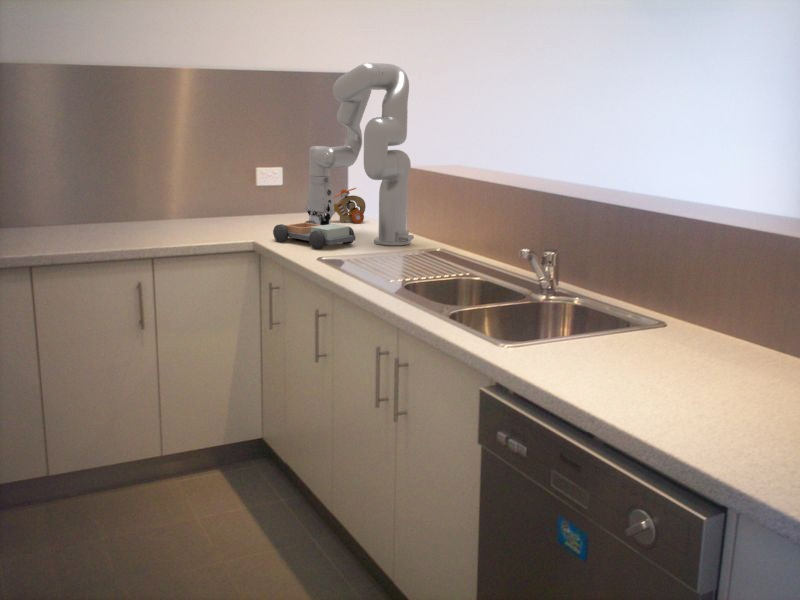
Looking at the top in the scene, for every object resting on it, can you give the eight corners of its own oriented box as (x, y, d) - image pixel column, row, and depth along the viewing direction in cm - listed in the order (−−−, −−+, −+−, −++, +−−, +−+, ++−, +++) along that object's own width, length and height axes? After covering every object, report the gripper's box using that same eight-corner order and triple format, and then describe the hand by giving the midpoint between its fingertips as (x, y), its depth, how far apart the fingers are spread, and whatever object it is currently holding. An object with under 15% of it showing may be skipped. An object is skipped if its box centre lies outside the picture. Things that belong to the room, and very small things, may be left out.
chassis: (358, 245, 296) (358, 226, 295) (325, 251, 285) (325, 231, 284) (302, 235, 314) (302, 217, 313) (269, 240, 303) (269, 221, 302)
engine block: (330, 231, 324) (330, 214, 322) (318, 233, 320) (318, 215, 318) (321, 230, 327) (321, 212, 326) (309, 231, 323) (309, 214, 321)
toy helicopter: (366, 223, 344) (367, 188, 341) (313, 224, 340) (313, 188, 337) (363, 220, 352) (363, 186, 349) (311, 221, 348) (311, 186, 345)
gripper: (343, 181, 316) (343, 232, 320) (311, 178, 327) (311, 226, 331) (328, 183, 311) (328, 234, 315) (296, 179, 322) (296, 228, 326)
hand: (319, 229), depth 323 cm, fingers closed on engine block, 5 cm apart
